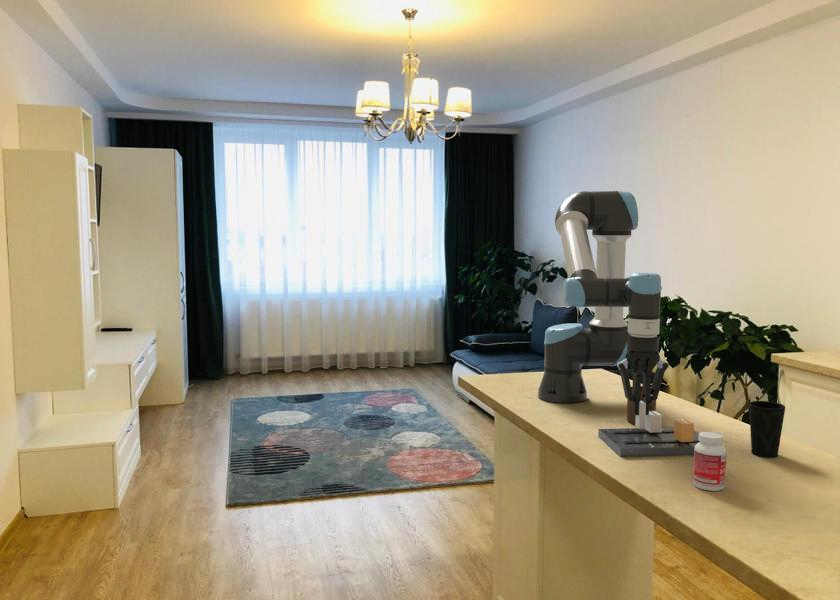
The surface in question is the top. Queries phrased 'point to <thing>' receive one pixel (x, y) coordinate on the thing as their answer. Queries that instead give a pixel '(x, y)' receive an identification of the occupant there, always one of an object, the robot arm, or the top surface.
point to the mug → (630, 415)
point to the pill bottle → (709, 462)
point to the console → (646, 442)
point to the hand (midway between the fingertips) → (640, 427)
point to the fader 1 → (653, 422)
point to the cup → (766, 427)
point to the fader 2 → (683, 430)
